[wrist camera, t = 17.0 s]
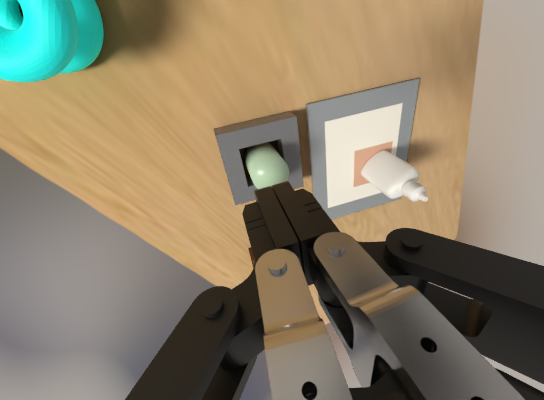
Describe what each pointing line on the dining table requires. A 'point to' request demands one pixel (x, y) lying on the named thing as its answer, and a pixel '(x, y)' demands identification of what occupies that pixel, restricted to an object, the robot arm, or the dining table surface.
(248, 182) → the button housing
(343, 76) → the dining table surface
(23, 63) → the donuts
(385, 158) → the eye dropper bottle
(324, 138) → the sketch board
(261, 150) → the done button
